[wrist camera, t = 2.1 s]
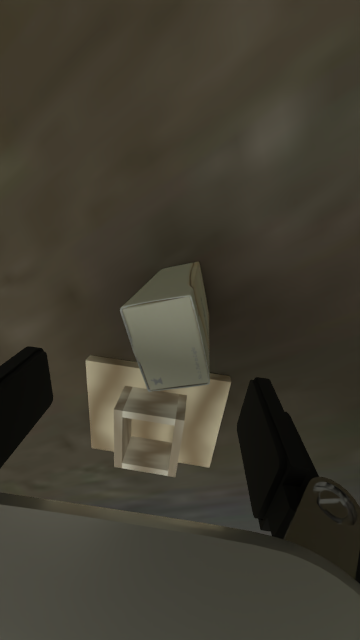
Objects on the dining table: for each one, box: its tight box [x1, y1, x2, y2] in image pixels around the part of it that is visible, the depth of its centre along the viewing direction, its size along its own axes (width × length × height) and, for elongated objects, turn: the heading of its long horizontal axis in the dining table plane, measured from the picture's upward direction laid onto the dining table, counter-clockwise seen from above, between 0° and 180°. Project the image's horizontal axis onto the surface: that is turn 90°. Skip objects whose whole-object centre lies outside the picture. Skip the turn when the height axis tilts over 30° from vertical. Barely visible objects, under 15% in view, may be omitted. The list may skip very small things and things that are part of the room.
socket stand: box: [86, 355, 231, 477], centre depth 30 cm, size 18×16×5 cm
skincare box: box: [120, 262, 210, 392], centre depth 19 cm, size 6×4×12 cm
